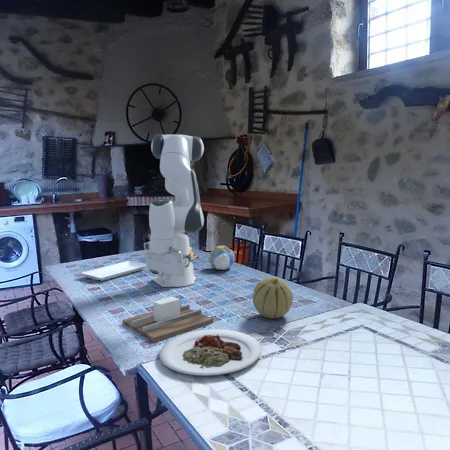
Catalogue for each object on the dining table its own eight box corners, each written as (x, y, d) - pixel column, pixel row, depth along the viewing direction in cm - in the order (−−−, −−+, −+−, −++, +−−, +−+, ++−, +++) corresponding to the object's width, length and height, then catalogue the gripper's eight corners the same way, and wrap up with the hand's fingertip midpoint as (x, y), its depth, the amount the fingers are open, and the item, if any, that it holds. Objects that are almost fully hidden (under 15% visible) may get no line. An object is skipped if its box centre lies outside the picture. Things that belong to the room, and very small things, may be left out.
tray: (149, 270, 229) (149, 264, 228) (100, 284, 204) (100, 277, 204) (129, 266, 239) (128, 260, 239) (80, 279, 215) (80, 272, 214)
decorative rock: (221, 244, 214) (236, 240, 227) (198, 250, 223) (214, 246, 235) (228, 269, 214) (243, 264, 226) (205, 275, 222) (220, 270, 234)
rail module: (154, 320, 149) (153, 301, 148) (174, 314, 155) (173, 296, 154) (161, 323, 146) (160, 304, 145) (181, 317, 151) (180, 298, 150)
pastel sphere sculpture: (202, 256, 259) (202, 241, 257) (185, 265, 237) (184, 249, 236) (166, 254, 268) (166, 240, 266) (147, 262, 246) (146, 247, 245)
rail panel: (122, 324, 151) (122, 316, 151) (178, 307, 166) (178, 300, 166) (154, 342, 134) (153, 333, 134) (213, 322, 150) (212, 314, 149)
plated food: (188, 393, 105) (188, 380, 104) (144, 350, 130) (143, 339, 129) (282, 360, 120) (282, 349, 120) (226, 327, 145) (226, 318, 145)
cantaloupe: (270, 307, 164) (269, 269, 161) (301, 316, 153) (301, 276, 151) (244, 317, 153) (243, 277, 151) (275, 328, 143) (275, 285, 141)
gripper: (188, 248, 140) (190, 288, 142) (156, 241, 156) (158, 277, 158) (172, 251, 136) (174, 292, 138) (141, 243, 152) (143, 281, 154)
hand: (165, 284), depth 148 cm, fingers closed
